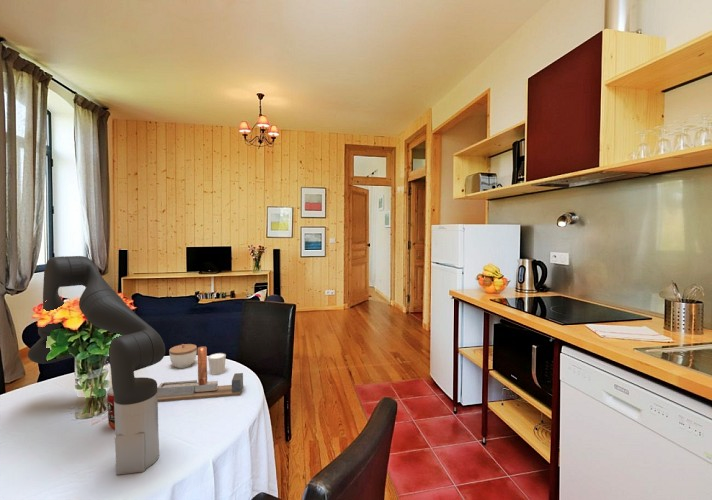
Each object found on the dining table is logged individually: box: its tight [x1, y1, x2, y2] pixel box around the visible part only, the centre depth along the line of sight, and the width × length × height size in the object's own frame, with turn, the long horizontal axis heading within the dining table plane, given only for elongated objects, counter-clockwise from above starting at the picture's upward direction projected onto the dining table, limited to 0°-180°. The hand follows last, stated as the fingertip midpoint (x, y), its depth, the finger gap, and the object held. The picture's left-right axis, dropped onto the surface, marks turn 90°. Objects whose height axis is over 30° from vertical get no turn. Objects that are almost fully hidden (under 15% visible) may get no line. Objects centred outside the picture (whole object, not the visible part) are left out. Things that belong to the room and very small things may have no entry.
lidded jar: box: [168, 343, 198, 369], centre depth 147 cm, size 11×11×9 cm
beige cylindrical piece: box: [207, 352, 227, 376], centre depth 141 cm, size 7×7×7 cm
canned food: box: [106, 387, 115, 430], centre depth 104 cm, size 8×8×11 cm
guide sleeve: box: [157, 379, 198, 398], centre depth 120 cm, size 5×12×3 cm, turn 101°
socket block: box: [231, 372, 244, 393], centre depth 124 cm, size 6×3×4 cm, turn 11°
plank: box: [158, 384, 244, 403], centre depth 122 cm, size 7×28×1 cm, turn 101°
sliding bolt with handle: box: [163, 346, 219, 392], centre depth 121 cm, size 3×18×16 cm, turn 101°
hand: (154, 342), depth 119 cm, fingers open, 8 cm apart
